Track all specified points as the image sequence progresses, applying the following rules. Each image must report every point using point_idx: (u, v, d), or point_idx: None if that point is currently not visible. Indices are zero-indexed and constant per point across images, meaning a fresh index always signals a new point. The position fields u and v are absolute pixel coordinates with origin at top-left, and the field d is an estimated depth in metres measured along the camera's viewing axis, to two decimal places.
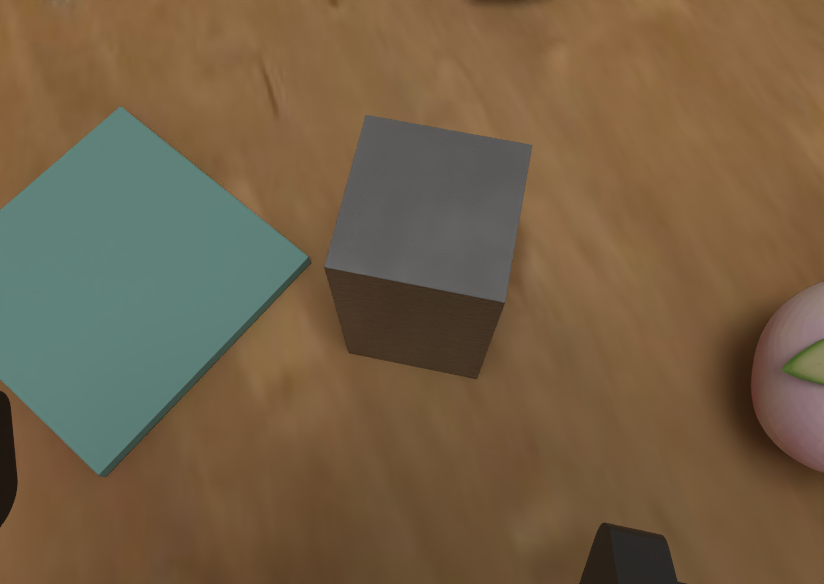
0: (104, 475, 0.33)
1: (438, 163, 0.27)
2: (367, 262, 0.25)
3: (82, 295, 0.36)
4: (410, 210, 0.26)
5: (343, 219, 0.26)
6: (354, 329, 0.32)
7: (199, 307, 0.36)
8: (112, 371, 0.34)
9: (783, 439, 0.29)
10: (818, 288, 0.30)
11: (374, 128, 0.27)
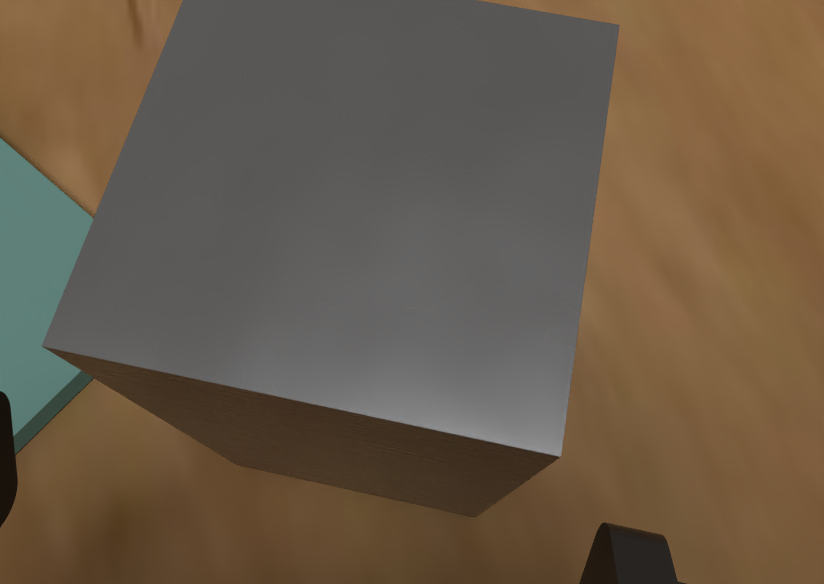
0: None
1: (379, 68, 0.10)
2: (167, 331, 0.09)
3: None
4: (298, 187, 0.10)
5: (114, 211, 0.10)
6: (221, 444, 0.15)
7: None
8: None
9: None
10: None
11: None
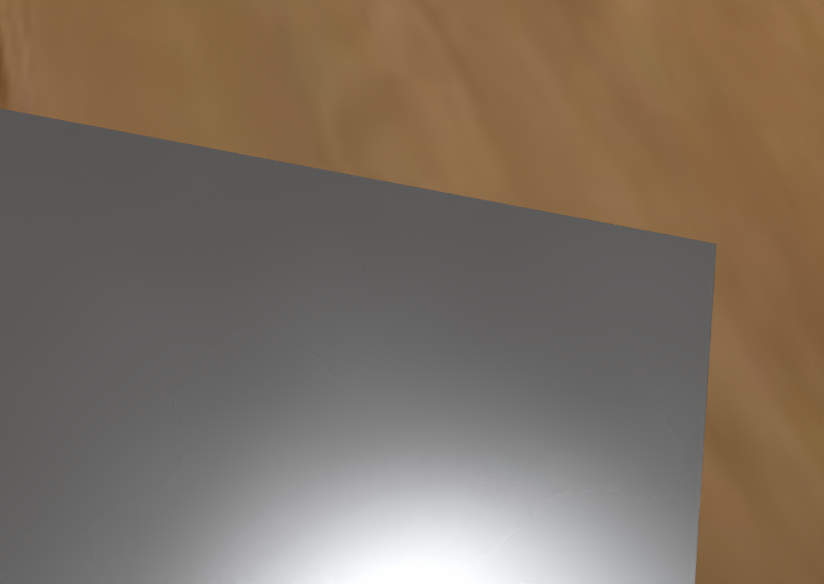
0: None
1: (153, 366, 0.04)
2: None
3: None
4: None
5: None
6: None
7: None
8: None
9: None
10: None
11: None
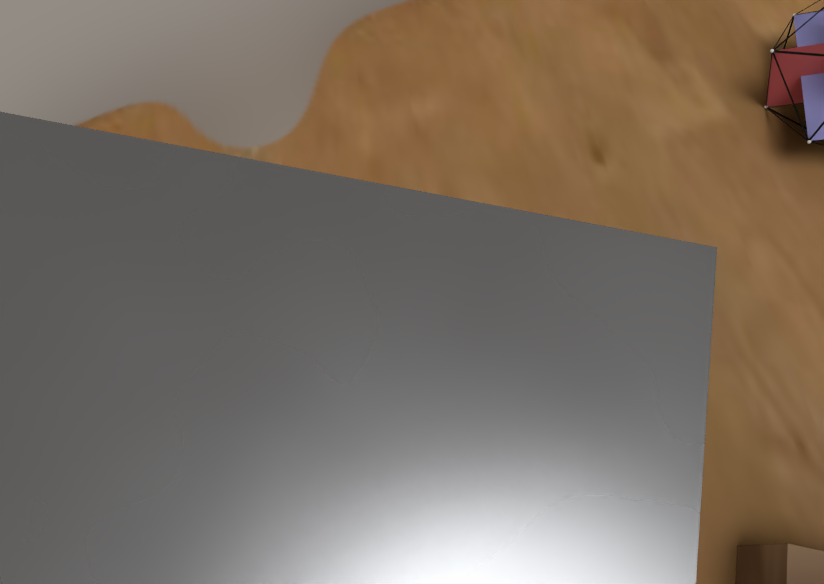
0: None
1: (151, 368, 0.04)
2: None
3: None
4: None
5: None
6: None
7: None
8: None
9: None
10: None
11: None
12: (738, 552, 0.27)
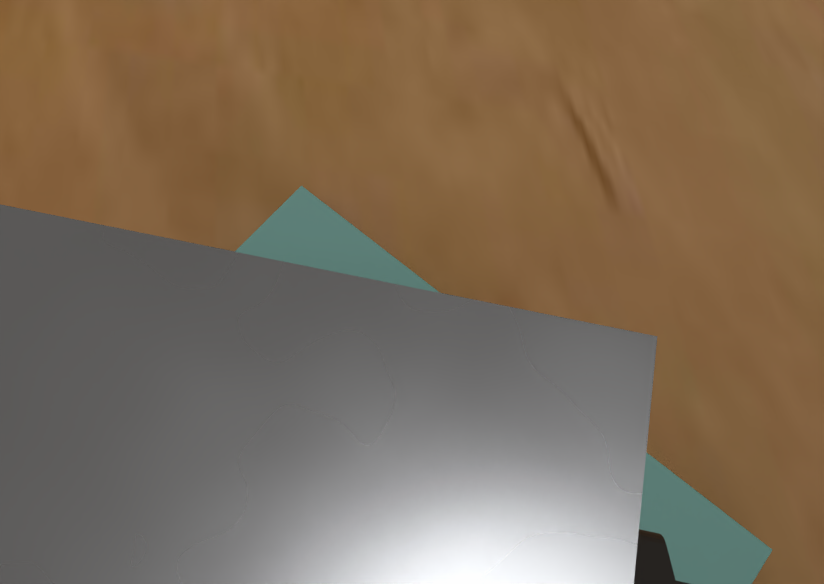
0: None
1: (220, 433, 0.06)
2: None
3: None
4: None
5: None
6: None
7: None
8: None
9: None
10: None
11: None
12: None
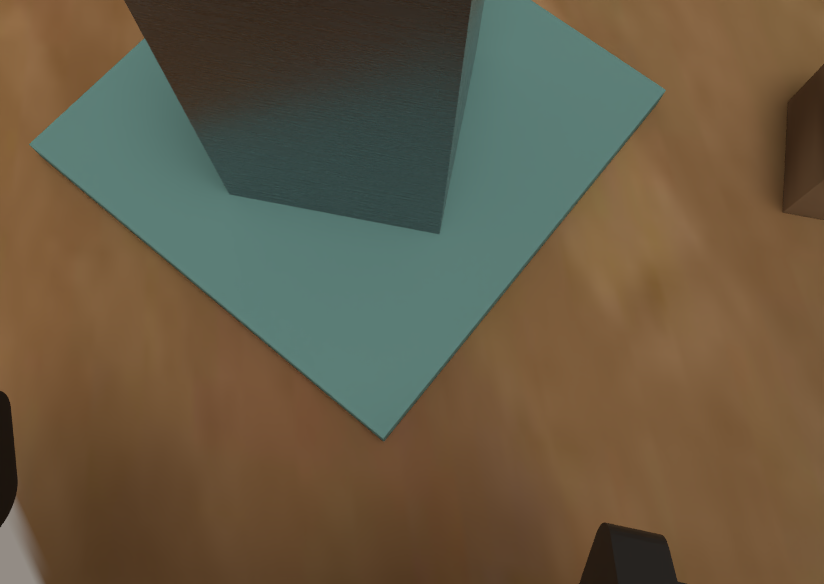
0: (385, 439, 0.20)
1: None
2: None
3: None
4: None
5: None
6: (213, 126, 0.18)
7: (506, 169, 0.22)
8: (380, 270, 0.21)
9: None
10: None
11: None
12: (789, 106, 0.24)
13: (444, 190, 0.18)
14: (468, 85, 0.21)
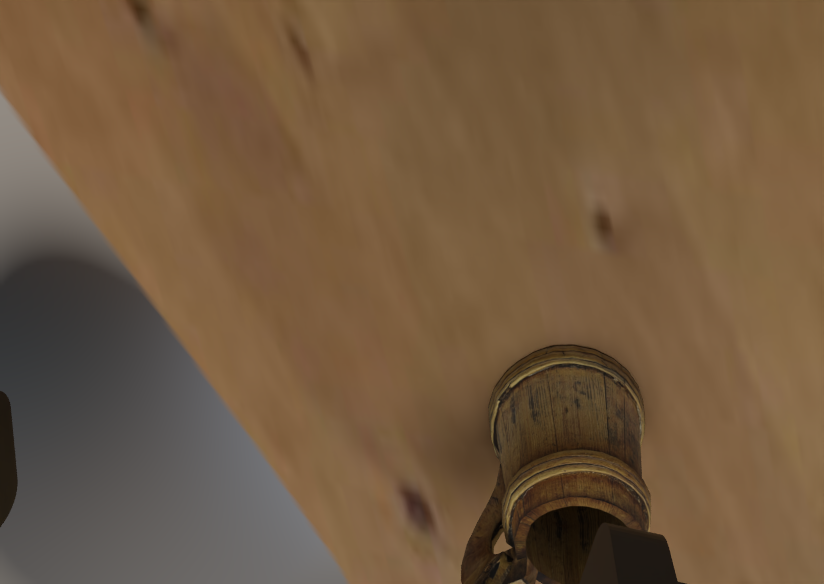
0: None
1: None
2: None
3: None
4: None
5: None
6: None
7: None
8: None
9: None
10: None
11: None
12: None
13: None
14: None
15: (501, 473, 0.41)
